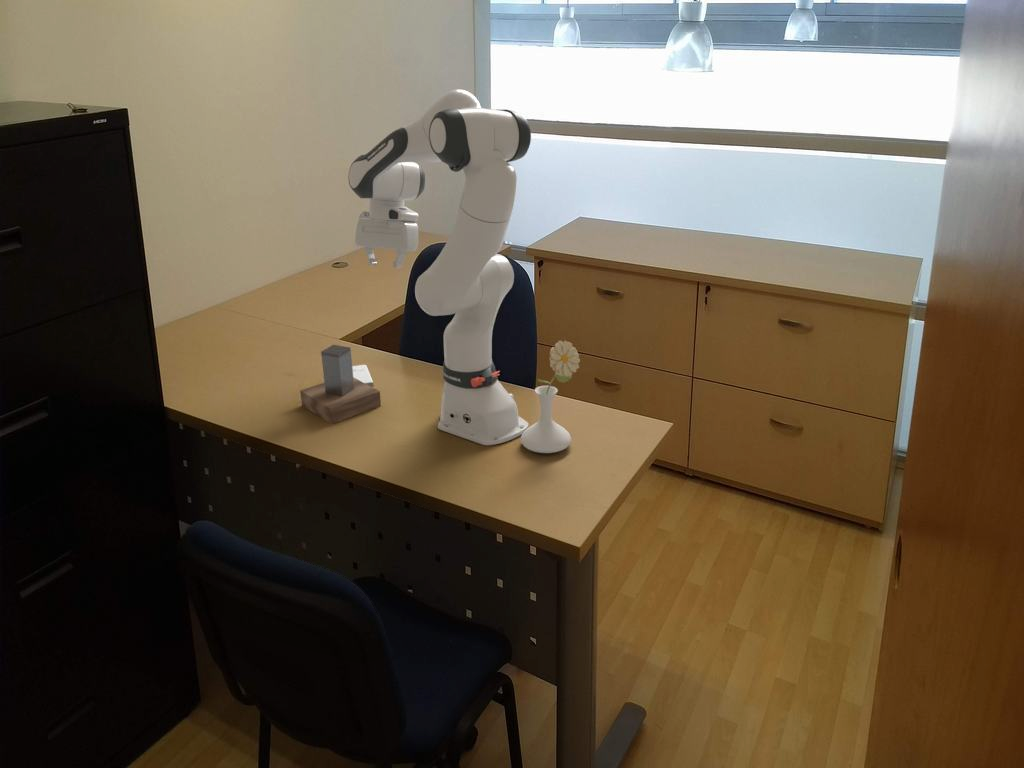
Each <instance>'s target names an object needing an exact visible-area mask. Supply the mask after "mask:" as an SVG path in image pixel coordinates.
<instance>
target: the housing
mask: <svg viewBox="0 0 1024 768" xmlns="http://www.w3.org/2000/svg"><path fill="white" fill-rule="evenodd" d="M320 354H321V363H322V371H323V383H325V392H326V393H327V394H332V395H337V396H341V397H343V396H345V395H346V394H347V393H349V392H350V391H352V390H353V389H354V380H353V369H352V366H353V361H352V351H351V347H349V346H345V345H344V346H343V345H337V344H332V345H330V346H328V347H326V348H325V349H323V350H322V351H321V352H320Z"/></svg>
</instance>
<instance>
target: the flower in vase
mask: <svg viewBox="0 0 1024 768" xmlns="http://www.w3.org/2000/svg"><path fill="white" fill-rule="evenodd" d="M579 357H580V354H579V353H578V350H577V348H576V347H574V346H573V343H571V341H570V342H569V341H567V340H564V341H562V340H558V341H557V342H556V343H555V345H554V346H552V347H551V348H550V352H549V357H548V358H549V361H550V362H549V363H550V364H549V366H550V368H552V370H553V372H554V375H553V377H552V378H551V381H548V380H543V379H540V378H537V382H540V383H544V384H548V385H541V386H537V387H535V388H534V392H535V394H536V395H537V396H538V398H539V402H540V418H539V420H538V421H537V422H535V423H533V424H532V425H529V428H527V429H526V430H525V431H524V432H523V433H522V434H521V435H520V442H521V444H522V445H523V447H524V448H526V449H527V450H529V451H531V452H534V453H540V454H552V453H557V452H558V453H559V452H561V451H564V450H565V449H567V448H568V446H570V444H571V442H572V437H571V434H570V432H568V430H566V429H565V428H564V427H563V426H561V425H560V424H558V423H556V421H554V420H553V418H552V404H553V401H554V398H555V395H557V393H558V391H559V390H558V388H557V387H555V386H551V385H553V384H552V383H553V382H554V380H555V378H556V380H557V381H558V382H560V383H566V382H569V381H570V380H571V379H572V378H573V376H572V375H573V373H576V372H577V369H579V368H580V365H579V363H580V362H581V359H580V358H579Z"/></svg>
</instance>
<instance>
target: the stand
mask: <svg viewBox="0 0 1024 768" xmlns="http://www.w3.org/2000/svg"><path fill="white" fill-rule="evenodd" d="M353 380H354V389H353V390H352V391H350V392H349V393H347V394H346V395H345V396H343V397H341V396H337V395H332V394H327V393H326V392H325V383H324V382H322V383H318V384H317V385H312V386H310V387H308V388H304V389H301V390H299V391H300V400H301V406H303V407H304V408H306V409H308V410H309V411H310V412H313V414H315V415H316V416H319V417H320V418H322V419H323V420H325V419H326V420H325V421H326V422H328V421H329V422H328V423H330V424H332V423H333V424H335V423H339V422H341V421H343V419H344V420H347V419H349V418H351V417H355V416H358V415H359V414H360V415H361V414H363V413H366V412H368V411H371V410H375V409H376V408H379V407H381V406H382V401H381V391H380V390H378V389H376V388H374V386H369V385H367V384H365V383H363V382H361V381H359V380H358V379H356V378H354V377H353ZM357 414H358V415H357ZM354 415H355V416H354ZM348 417H349V418H348ZM346 418H347V419H346ZM340 420H341V421H340Z"/></svg>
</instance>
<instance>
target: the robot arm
mask: <svg viewBox="0 0 1024 768" xmlns="http://www.w3.org/2000/svg"><path fill="white" fill-rule="evenodd" d="M531 141H532V131H531V127H530V124H529V123H528V120H527V118H526V117H525V116H524V115H523V114H521V113H519V112H516V111H514V110H510V109H493V108H483V107H481V104H480V102H479V100H478V99H477V97H476V96H475V95H473V93H471V92H469V91H468V90H465V89H461V88H460V89H452V90H450V91H448V92H447V93H445V94H444V95H442V96H441V97H439V98H438V99H437V100H436V101H435V102H434V103H433V104H432V105H431V106H429V108H428V109H427V110H426V111H425V113H424V114H423V115H421V116H420V117H418V118H417V119H415V120H414V121H412V122H410V123H408V124H407V125H405V126H403V127H400V128H398V129H396V130H394V131H391V133H389V134H388V135H387V136H386V137H384V138H383V139H382V140H381V141H380V142H379V143H378V144H377V145H375V146H374V147H373V148H371V150H369V152H367V153H365V154H361V155H360V156H358V157H357V158H356V159H354V161H353V162H352V163H351V165H350V167H349V170H348V176H347V178H348V179H347V180H348V185H349V187H350V189H351V190H352V191H353V192H354V193H355V194H356V196H357V197H359V198H360V199H369V211H366V210H364V211H362V212H361V214H359V215H358V221H357V223H356V228H355V240H354V241H355V242H354V243H355V244H356V246H357V247H361V248H362V247H363V248H364V249H365V250H364V252H365V254H366V256H367V257H366V258H367V259H368V261H367V264H368V265H369V266H377V264H378V258H375V254H374V253H375V251H376V249H383V250H391V251H392V250H393V251H396V255H397V256H396V258H395V259H396V260H393V263H392V264H393V266H392V268H393V269H402V268H403V261H404V260H405V258H406V256H407V252H416V251H417V249H418V246H419V234H420V233H419V226H418V223H417V222H418V221H419V219H420V218H419V217H420V215H419V214H418V212H416V211H414V210H412V209H410V208H409V207H407V206H405V201H412V200H416V199H418V198H419V197H420V196H421V195H422V193H423V192H424V191H425V184H426V175H425V174H426V173H425V171H424V169H423V168H422V166H421V165H420V164H419V163H441V162H442V163H444V164H446V165H447V166H448V167H449V169H450V170H451V171H452V172H454V173H458V172H460V171H462V170H463V173H464V175H465V177H464V178H465V180H464V181H465V183H464V187H463V191H462V194H461V197H460V201H459V205H458V209H457V213H456V217H455V221H454V224H453V228H452V230H451V233H450V236H449V237H448V240H447V241H446V243H445V244H444V247H443V248H442V250H441V251H440V253H439V255H438V256H437V257H436V259H435V260H434V261H433V262H432V264H431V265H430V266H429V267H428V268H427V269H426V270H425V271H424V272H422V273H421V275H419V276H418V277H417V280H416V282H415V286H414V294H415V299H416V301H417V304H418V305H419V307H420V309H422V311H424V313H426V314H427V315H429V316H433V317H438V316H451V315H454V316H453V318H452V320H451V321H449V323H448V324H447V325H446V327H445V329H444V332H443V356H444V361H443V363H442V377H443V381H444V386H443V390H442V394H441V407H440V417H439V420H438V423H437V429H438V430H440V431H443V432H446V433H449V434H451V435H454V436H457V437H460V438H463V439H466V440H468V441H472V442H473V443H477V444H479V445H483V446H493V445H498V444H503V443H505V442H509V441H510V440H514V439H516V438H518V437H521V436H522V433H523V432H524V431H525V430H526V429H527V428H529V427H530V425H529V422H528V421H526V420H525V418H522V417H521V416H519V411H518V406H517V403H516V401H515V397H514V394H512V393H509V392H508V391H507V390H506V389H505V387H504V386H503V385H502V383H501V382H500V381H499V379H498V376H500V372H501V370H498V371H497V370H496V366H495V363H494V361H493V358H492V356H493V355H492V353H493V351H492V350H493V349H492V348H493V347H492V346H493V345H492V344H493V343H492V342H493V341H492V339H493V331H494V330H493V329H494V325H495V322H496V317H497V314H498V312H499V309H500V306H501V304H502V302H503V300H504V299H505V297H506V295H507V294H508V293H509V292H510V290H511V289H512V288H513V285H514V281H515V280H514V279H515V273H514V268H513V266H512V264H511V263H510V261H509V260H508V259H507V258H506V257H505V256H504V255H502V254H500V253H499V252H500V250H501V248H502V246H503V243H504V240H505V237H506V234H507V231H508V227H509V223H510V219H511V216H512V214H513V213H512V212H513V209H514V204H515V199H516V198H515V197H516V190H517V177H518V176H517V172H516V170H515V168H514V167H513V165H512V164H510V163H511V162H514V161H515V162H516V161H518V160H520V159H523V158H524V157H525V156H526V155H527V153H528V151H529V148H530V145H531Z"/></svg>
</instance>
